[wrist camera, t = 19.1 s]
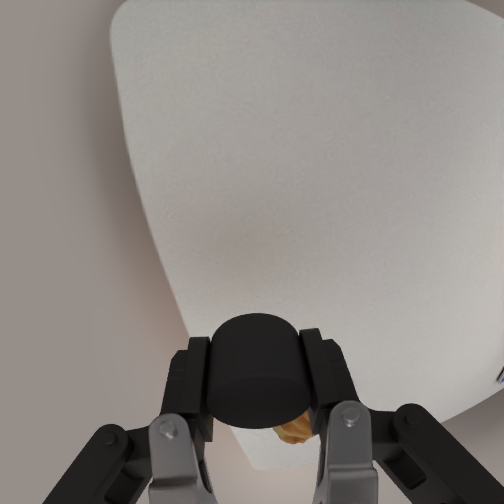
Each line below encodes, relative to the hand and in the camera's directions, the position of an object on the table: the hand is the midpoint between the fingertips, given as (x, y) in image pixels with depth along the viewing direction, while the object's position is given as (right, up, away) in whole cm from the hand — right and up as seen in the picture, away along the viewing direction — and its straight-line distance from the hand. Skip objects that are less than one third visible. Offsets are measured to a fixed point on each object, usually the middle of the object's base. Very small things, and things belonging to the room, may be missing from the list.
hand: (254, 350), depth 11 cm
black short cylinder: (0, 0, 0) cm, 0 cm away
